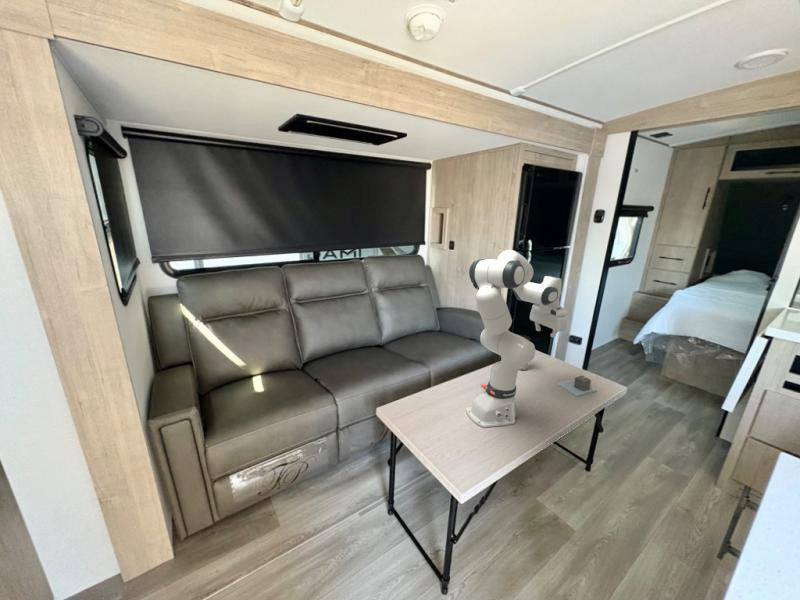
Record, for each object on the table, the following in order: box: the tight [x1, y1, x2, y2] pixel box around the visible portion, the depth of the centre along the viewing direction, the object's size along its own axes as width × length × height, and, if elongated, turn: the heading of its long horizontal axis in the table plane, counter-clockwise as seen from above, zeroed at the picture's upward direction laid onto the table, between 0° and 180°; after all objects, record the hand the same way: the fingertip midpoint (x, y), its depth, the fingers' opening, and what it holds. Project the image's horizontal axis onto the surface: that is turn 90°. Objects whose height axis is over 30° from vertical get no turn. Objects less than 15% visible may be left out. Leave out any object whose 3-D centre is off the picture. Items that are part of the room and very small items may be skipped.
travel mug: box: [518, 334, 532, 372], centre depth 182 cm, size 6×7×20 cm
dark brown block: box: [574, 374, 592, 391], centre depth 161 cm, size 5×5×6 cm
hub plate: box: [556, 378, 598, 398], centre depth 163 cm, size 14×12×5 cm
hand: (545, 333), depth 159 cm, fingers open, 8 cm apart
